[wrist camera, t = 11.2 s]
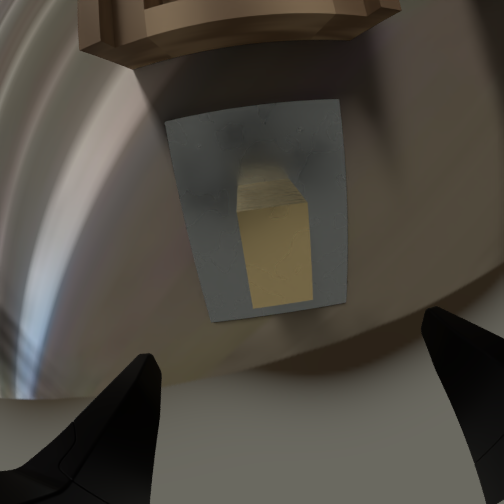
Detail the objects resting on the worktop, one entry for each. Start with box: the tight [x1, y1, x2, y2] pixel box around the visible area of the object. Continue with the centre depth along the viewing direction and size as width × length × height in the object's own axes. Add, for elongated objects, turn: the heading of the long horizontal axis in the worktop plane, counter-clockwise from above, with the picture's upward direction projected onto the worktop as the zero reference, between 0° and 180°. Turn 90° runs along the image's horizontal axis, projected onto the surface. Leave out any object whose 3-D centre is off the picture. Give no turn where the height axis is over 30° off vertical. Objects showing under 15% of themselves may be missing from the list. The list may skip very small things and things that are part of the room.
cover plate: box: [165, 99, 348, 322], centre depth 16 cm, size 10×14×6 cm
